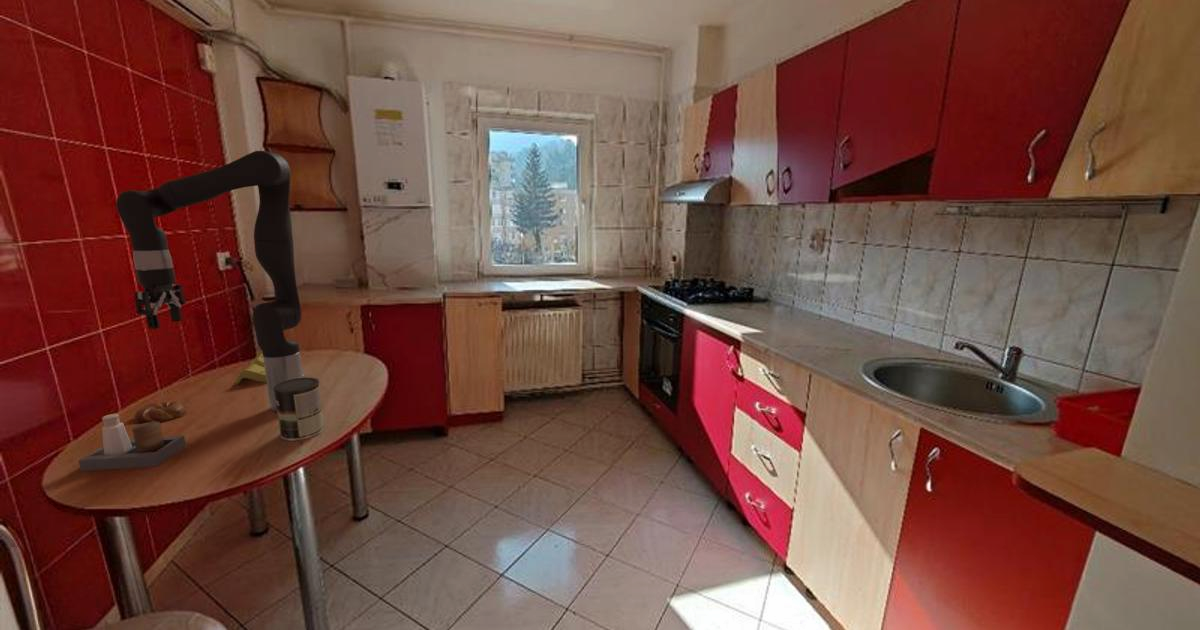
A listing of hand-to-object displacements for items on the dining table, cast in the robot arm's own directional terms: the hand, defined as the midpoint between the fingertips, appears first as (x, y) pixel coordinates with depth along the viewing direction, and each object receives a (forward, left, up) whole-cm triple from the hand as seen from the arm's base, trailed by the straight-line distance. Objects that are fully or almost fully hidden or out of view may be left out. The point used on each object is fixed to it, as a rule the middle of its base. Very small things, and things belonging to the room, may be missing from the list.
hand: (166, 324), depth 129 cm
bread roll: (+7, -2, -28) cm, 29 cm away
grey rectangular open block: (-5, +25, -28) cm, 38 cm away
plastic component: (-3, -35, -28) cm, 45 cm away
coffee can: (-38, +14, -28) cm, 49 cm away
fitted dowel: (-9, +25, -27) cm, 38 cm away
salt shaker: (-2, +25, -27) cm, 37 cm away
